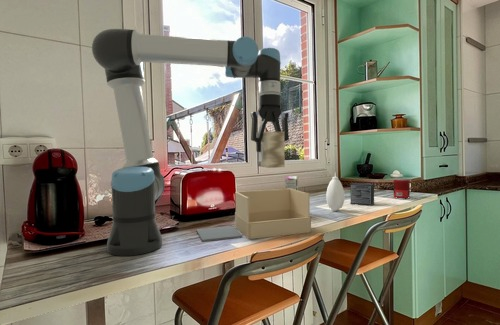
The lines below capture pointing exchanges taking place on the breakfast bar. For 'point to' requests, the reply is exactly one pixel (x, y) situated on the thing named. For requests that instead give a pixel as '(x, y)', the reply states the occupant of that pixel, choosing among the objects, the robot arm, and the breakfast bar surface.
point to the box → (273, 150)
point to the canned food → (401, 187)
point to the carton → (272, 213)
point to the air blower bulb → (335, 194)
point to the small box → (362, 193)
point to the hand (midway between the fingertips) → (270, 161)
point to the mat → (218, 233)
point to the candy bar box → (292, 182)
